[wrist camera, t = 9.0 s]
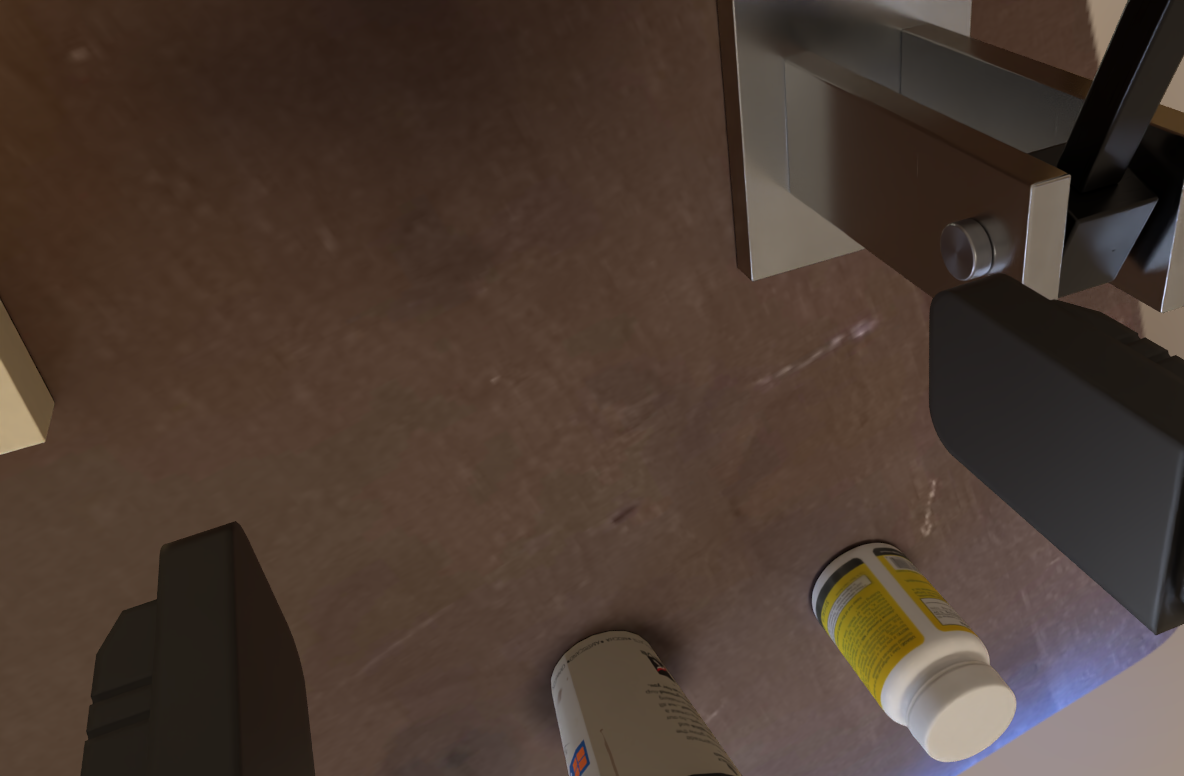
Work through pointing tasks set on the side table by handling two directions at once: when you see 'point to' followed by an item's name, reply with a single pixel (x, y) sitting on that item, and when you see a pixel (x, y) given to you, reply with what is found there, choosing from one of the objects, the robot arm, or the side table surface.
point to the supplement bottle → (913, 651)
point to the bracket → (917, 149)
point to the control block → (20, 393)
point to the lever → (1115, 143)
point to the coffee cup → (629, 714)
